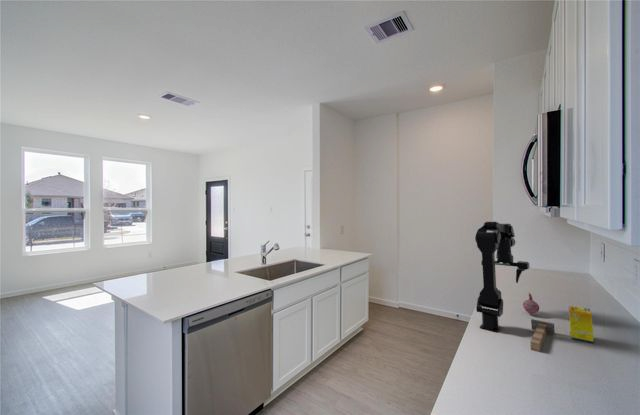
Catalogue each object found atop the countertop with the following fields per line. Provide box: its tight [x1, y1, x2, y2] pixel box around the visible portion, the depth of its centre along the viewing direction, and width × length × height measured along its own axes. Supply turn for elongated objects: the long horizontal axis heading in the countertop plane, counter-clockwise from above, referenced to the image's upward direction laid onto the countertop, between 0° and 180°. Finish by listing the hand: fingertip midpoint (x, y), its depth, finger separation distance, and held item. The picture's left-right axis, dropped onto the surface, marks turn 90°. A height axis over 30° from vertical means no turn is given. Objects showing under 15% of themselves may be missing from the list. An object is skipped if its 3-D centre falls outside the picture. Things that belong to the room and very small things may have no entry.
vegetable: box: [522, 292, 540, 315], centre depth 125 cm, size 6×6×10 cm
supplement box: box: [568, 305, 595, 344], centre depth 101 cm, size 6×6×11 cm
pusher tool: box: [529, 318, 556, 353], centre depth 100 cm, size 21×7×4 cm, turn 134°
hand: (505, 281), depth 130 cm, fingers open, 9 cm apart
